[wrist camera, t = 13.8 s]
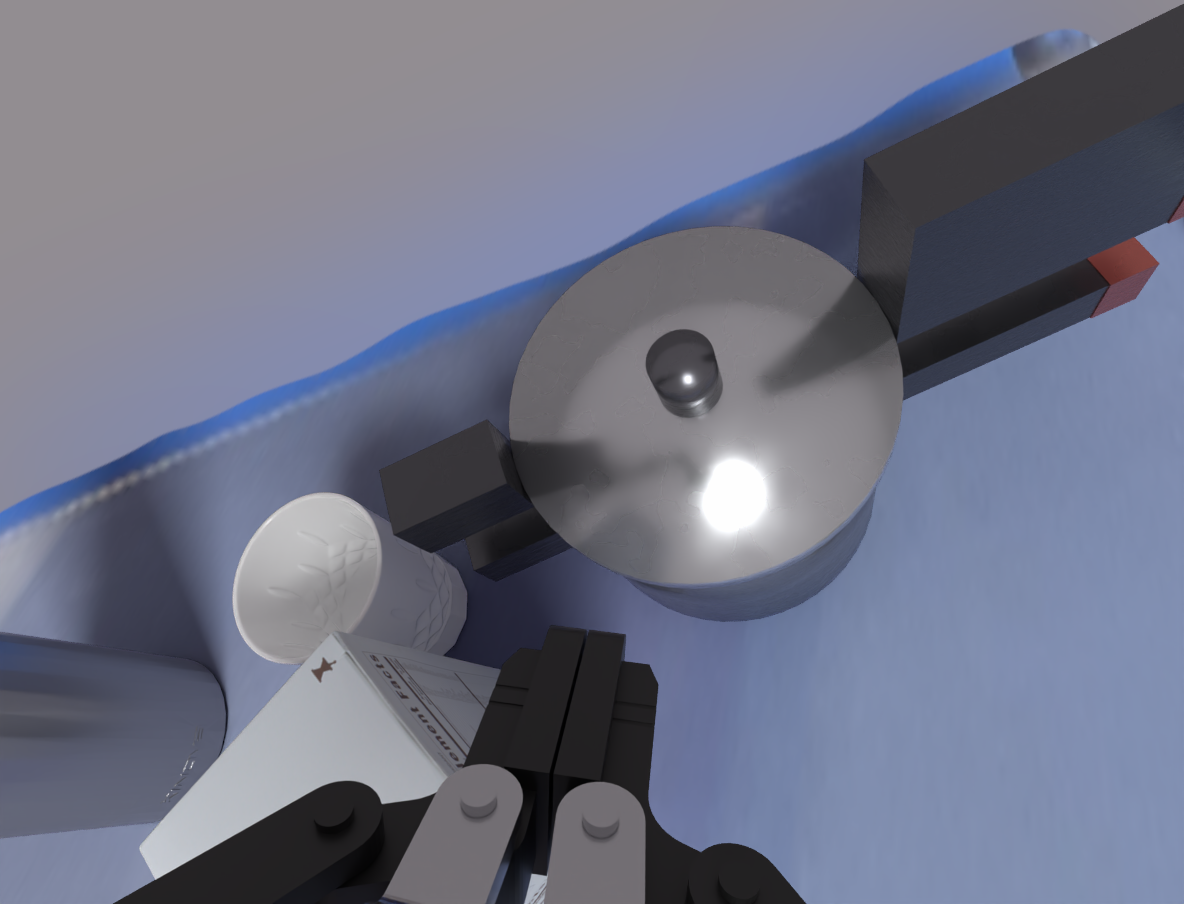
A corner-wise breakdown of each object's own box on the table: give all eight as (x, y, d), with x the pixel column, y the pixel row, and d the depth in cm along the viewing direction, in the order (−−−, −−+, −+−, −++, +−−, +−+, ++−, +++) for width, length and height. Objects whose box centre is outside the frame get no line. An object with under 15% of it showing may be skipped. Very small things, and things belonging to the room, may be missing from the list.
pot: (497, 587, 41) (405, 542, 32) (628, 249, 47) (581, 132, 38) (1031, 770, 30) (1115, 778, 21) (1108, 305, 36) (1198, 162, 28)
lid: (466, 701, 28) (357, 687, 21) (389, 380, 35) (290, 297, 29) (1356, 330, 24) (1552, 174, 17) (1062, 51, 31) (1123, -133, 24)
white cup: (431, 518, 44) (329, 459, 35) (504, 613, 40) (412, 575, 31) (334, 608, 43) (207, 572, 34) (399, 713, 40) (276, 703, 31)
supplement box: (403, 805, 38) (123, 841, 23) (520, 668, 38) (325, 616, 24) (522, 967, 33) (271, 1143, 18) (651, 808, 34) (513, 852, 19)
